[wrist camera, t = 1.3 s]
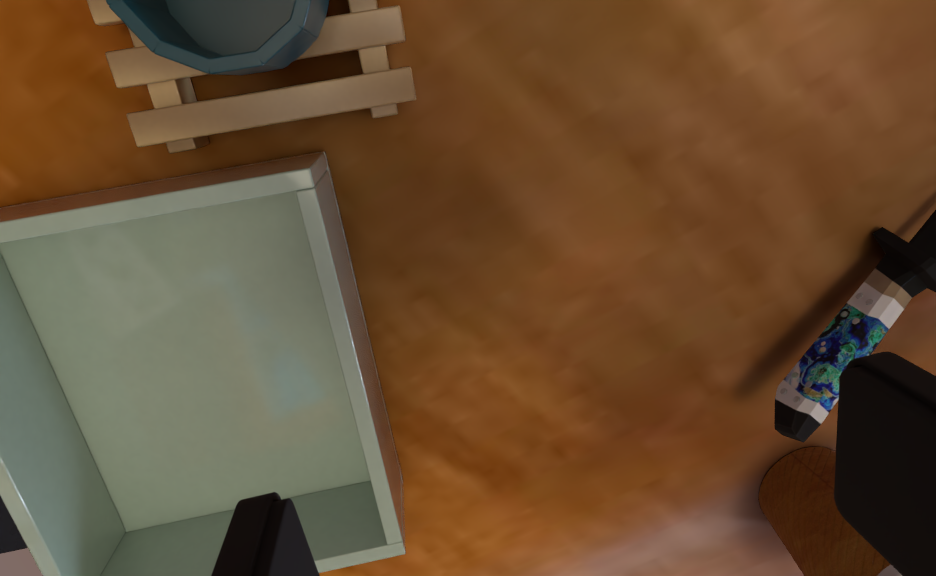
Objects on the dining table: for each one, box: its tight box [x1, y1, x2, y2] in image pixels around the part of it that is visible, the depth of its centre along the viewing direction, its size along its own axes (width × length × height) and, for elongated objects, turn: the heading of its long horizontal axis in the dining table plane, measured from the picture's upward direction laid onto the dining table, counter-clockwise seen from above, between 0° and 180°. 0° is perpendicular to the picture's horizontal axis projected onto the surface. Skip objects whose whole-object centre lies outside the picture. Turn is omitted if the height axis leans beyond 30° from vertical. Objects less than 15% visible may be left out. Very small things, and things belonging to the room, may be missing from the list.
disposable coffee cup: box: [759, 447, 902, 576], centre depth 34 cm, size 10×10×12 cm
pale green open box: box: [0, 151, 406, 576], centre depth 29 cm, size 20×17×6 cm
